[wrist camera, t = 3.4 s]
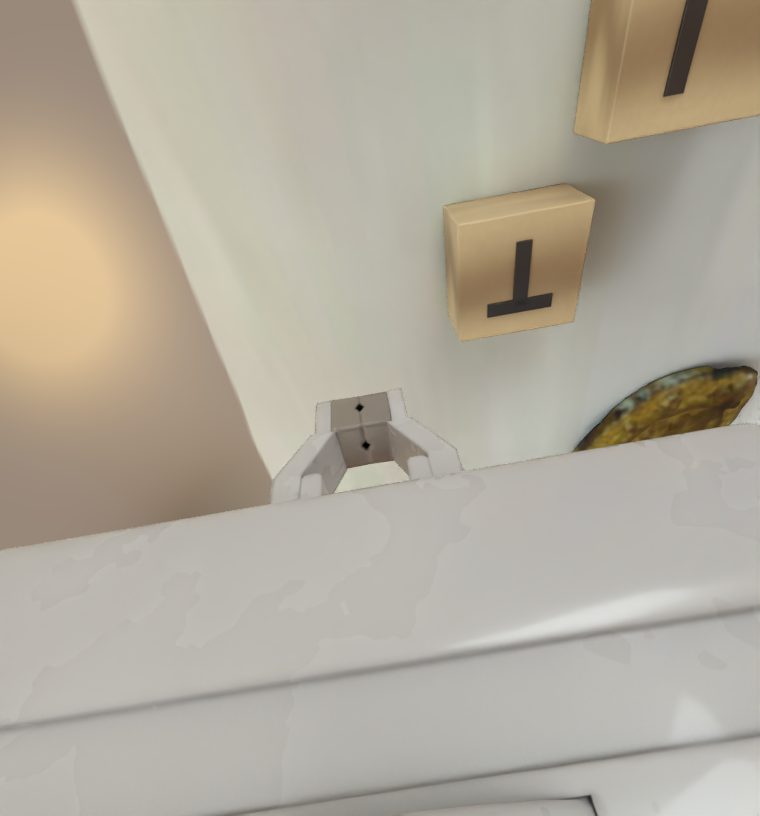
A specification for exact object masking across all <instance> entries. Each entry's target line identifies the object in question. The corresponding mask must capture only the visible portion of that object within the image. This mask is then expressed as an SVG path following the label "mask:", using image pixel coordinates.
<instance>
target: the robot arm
mask: <svg viewBox="0 0 760 816" xmlns="http://www.w3.org/2000/svg"><path fill="white" fill-rule="evenodd" d="M387 396H388V397H387ZM389 407H390V408H389ZM394 460H395V462H396V463H397V464H398V465H399V466H400V467H401V468H402V469H403V470H404V471H405V472H406V473H407V474H408V475H409V477H410V480H409V481H403V482H397V483H391V484H386V485H380V486H374V487H368V488H363V489H357V490H351V491H345V492H339V493H334V492H335V490H336V488H337V487H338V485H339V483H340V481H341V480H342V478H343V476H344V474H345V473H346V471H347V468H352V467H357V466H362V465H367V464H373V463H380V462H387V461H394ZM0 816H760V425H757V424H747V423H746V424H736V425H729V426H723V427H718V428H712V429H706V430H700V431H694V432H689V433H683V434H677V435H671V436H666V437H660V438H654V439H648V440H642V441H637V442H631V443H625V444H619V445H613V446H607V447H602V448H596V449H590V450H584V451H578V452H572V453H567V454H561V455H555V456H549V457H543V458H537V459H531V460H526V461H520V462H514V463H508V464H502V465H497V466H491V467H485V468H479V469H473V470H468V471H463V468H462V465H461V462H460V459H459V455H458V452H457V449H456V448H455V447H453V446H452V445H450V444H449V443H448V442H446V441H445V440H443V439H442V438H440V437H439V436H438V435H436V434H435V433H433V432H432V431H430V430H429V429H428V428H426V427H425V426H423V425H422V424H420V423H419V422H418V421H416V420H415V419H413V418H408V416H407V412H406V407H405V402H404V398H403V393H402V389H401V388H399V389H394V390H389V391H387V392H381V393H376V394H370V395H365V396H358V397H352V398H345V399H339V400H332V401H327V402H321V403H317V405H316V417H315V435H311V436H310V437H309V438H308V439H307V440H306V442H305V443H304V444H303V445H302V446H301V447H300V449H299V450H298V451H297V452H296V453H295V454H294V456H293V457H292V458H291V459H290V460H289V461H288V463H287V464H286V465H285V466H284V467H283V468H282V470H281V471H280V472H279V473H278V474H277V475H276V477H275V478H274V479H273V481H272V488H271V495H270V502H269V505H263V506H257V507H252V508H246V509H240V510H234V511H228V512H222V513H217V514H211V515H205V516H199V517H193V518H187V519H181V520H175V521H170V522H164V523H158V524H153V525H146V526H140V527H135V528H129V529H123V530H117V531H112V532H105V533H100V534H94V535H88V536H82V537H76V538H70V539H64V540H59V541H53V542H47V543H41V544H36V545H29V546H22V547H16V548H10V549H4V550H0Z"/></svg>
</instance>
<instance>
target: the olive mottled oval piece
mask: <svg viewBox="0 0 760 816" xmlns="http://www.w3.org/2000/svg"><path fill="white" fill-rule="evenodd" d="M757 375H758V372H757V371H755V370H754V369H752V368H751V367H748V366H742V367H735V368H723V369H716V368H712V367H708V366H706V367H700V368H694V369H689V370H686V371H682V372H679V373H675V374H671V375H669V376H667V377H665V378H662V379H660V380H657V381H655V382H652V383H650V384H649V385H647V386H645V387H643V388H642V389H640V390H639V391H637V392H636V393H634V394H633V395H631V396H630V397H628V398H627V399H625V400H624V401H623V402H621V403H620V404H619V405H618V406H616V407H615V408H614V409H612V410H611V412H610V413H609V414H608V415H607V416H606V417H605V418H604V419H603V420H602V422H601V423H600V424H599V425H597V426H596V427H595V428H594V429H593V430H592V431H591V432H590V433H589V434H588V435H587V436H586V437H585V438H584V439H583V440H582V442H581V443H580V444H579V445H578V446H577V447H576V448H575V450H574V452H578V451H584V450H590V449H596V448H602V447H607V446H613V445H619V444H625V443H631V442H637V441H642V440H648V439H654V438H660V437H666V436H671V435H677V434H683V433H689V432H694V431H700V430H706V429H712V428H718V427H723V426H729V425H730V424H731V423H732V422H733V421H734V420H735V419H736V417H737V416H738V414H739V412H740V411H741V409H742V408H743V407H744V406H745V404H746V403H747V402H748V401H749V399H750V398H751V397H752V395H753V392H754V389H755V387H756V384H757Z"/></svg>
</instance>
